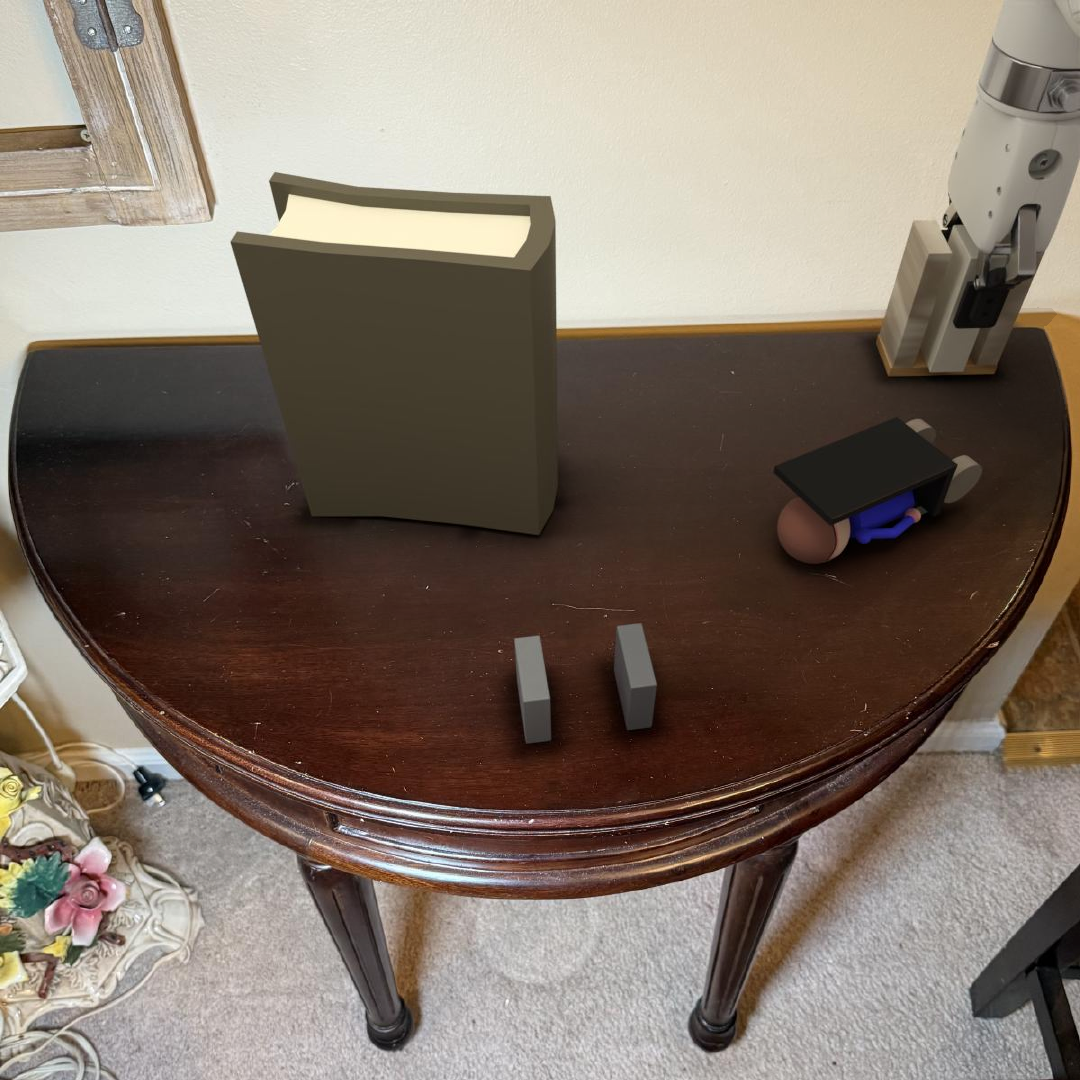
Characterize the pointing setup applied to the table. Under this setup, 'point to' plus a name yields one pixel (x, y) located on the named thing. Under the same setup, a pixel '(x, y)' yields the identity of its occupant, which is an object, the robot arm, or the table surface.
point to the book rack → (917, 301)
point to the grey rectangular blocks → (629, 672)
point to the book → (412, 349)
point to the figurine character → (867, 488)
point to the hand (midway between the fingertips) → (960, 297)
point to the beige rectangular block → (953, 307)
